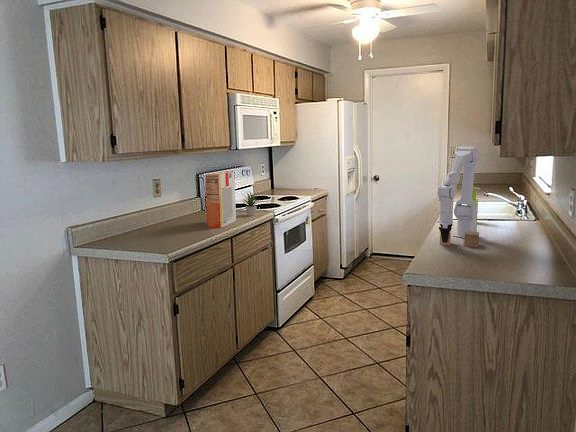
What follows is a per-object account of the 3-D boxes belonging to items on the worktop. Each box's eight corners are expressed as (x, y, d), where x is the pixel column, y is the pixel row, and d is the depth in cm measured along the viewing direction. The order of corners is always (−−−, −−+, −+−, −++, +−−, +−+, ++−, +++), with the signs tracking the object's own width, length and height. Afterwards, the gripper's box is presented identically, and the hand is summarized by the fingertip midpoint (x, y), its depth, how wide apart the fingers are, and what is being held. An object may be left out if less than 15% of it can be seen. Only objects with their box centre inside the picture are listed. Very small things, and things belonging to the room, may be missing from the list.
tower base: (464, 243, 224) (464, 237, 224) (477, 244, 222) (478, 238, 222) (463, 246, 219) (464, 240, 218) (478, 247, 216) (478, 241, 216)
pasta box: (223, 220, 297) (221, 171, 292) (236, 220, 294) (234, 171, 289) (207, 227, 275) (205, 174, 270) (220, 227, 273) (218, 174, 268)
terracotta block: (440, 242, 227) (440, 232, 226) (450, 243, 225) (450, 232, 224) (439, 244, 222) (440, 234, 222) (450, 245, 221) (450, 234, 220)
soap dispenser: (475, 224, 269) (477, 188, 266) (464, 222, 274) (465, 187, 271) (480, 222, 273) (482, 187, 270) (469, 221, 278) (470, 186, 275)
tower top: (464, 237, 224) (464, 231, 223) (478, 238, 221) (478, 231, 221) (464, 240, 218) (464, 233, 217) (478, 241, 216) (479, 234, 215)
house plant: (268, 214, 313) (268, 189, 310) (254, 218, 302) (253, 192, 299) (252, 213, 321) (251, 188, 319) (238, 216, 311) (237, 190, 308)
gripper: (438, 209, 229) (437, 236, 232) (436, 213, 216) (435, 243, 218) (453, 209, 227) (452, 237, 229) (452, 214, 213) (451, 244, 216)
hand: (445, 240), depth 223 cm, fingers open, 7 cm apart
